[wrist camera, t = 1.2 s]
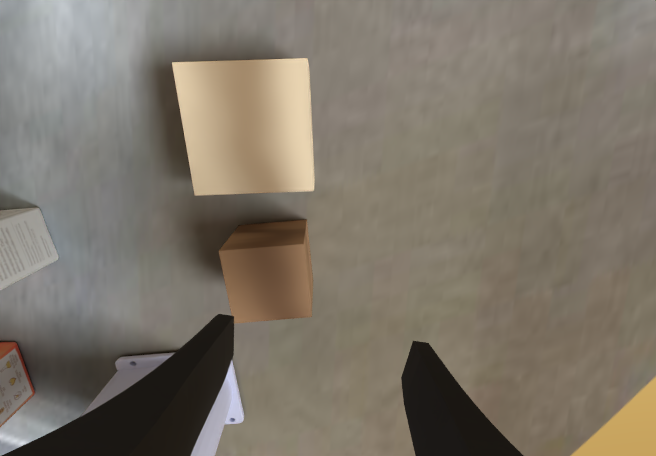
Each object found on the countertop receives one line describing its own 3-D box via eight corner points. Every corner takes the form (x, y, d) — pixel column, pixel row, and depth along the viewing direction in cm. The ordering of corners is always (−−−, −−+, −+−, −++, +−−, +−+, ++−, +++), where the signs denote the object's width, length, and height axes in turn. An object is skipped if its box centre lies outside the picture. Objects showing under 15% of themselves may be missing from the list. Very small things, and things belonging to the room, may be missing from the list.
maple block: (216, 183, 22) (194, 195, 18) (199, 74, 20) (171, 62, 16) (314, 179, 22) (313, 190, 18) (309, 71, 20) (307, 58, 16)
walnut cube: (249, 284, 24) (233, 323, 20) (239, 224, 23) (218, 251, 18) (313, 279, 24) (311, 316, 20) (306, 219, 23) (303, 244, 18)
